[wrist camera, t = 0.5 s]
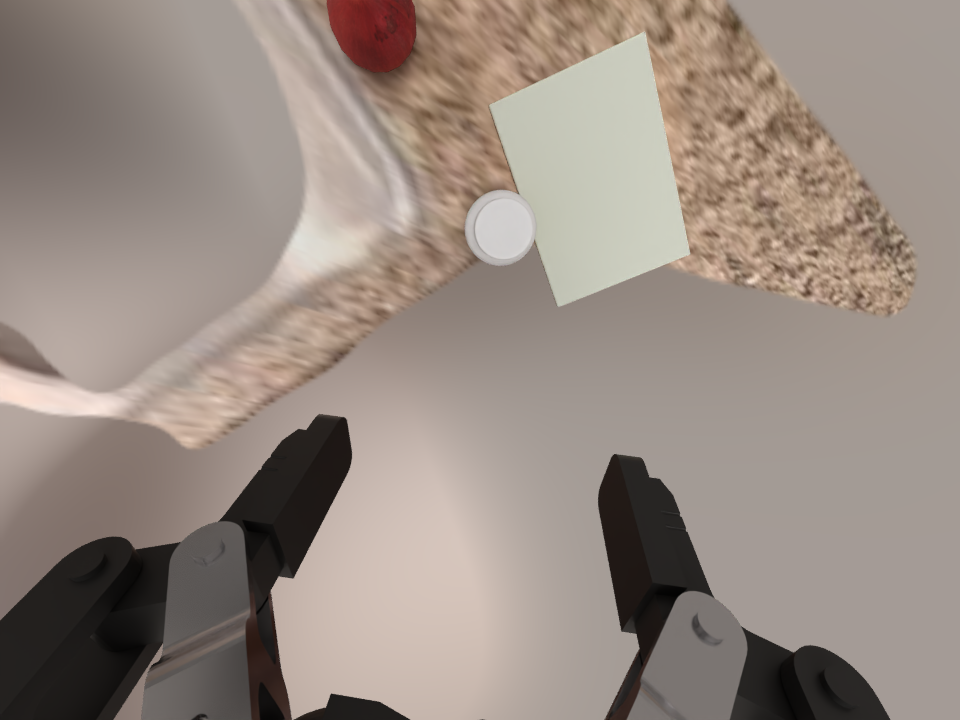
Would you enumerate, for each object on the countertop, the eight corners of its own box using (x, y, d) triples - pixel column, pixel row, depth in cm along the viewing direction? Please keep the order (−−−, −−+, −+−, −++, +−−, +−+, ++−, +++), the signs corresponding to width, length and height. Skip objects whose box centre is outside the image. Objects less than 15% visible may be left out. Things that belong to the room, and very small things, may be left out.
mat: (488, 107, 31) (489, 104, 30) (641, 35, 29) (645, 31, 29) (556, 306, 37) (558, 307, 36) (686, 253, 35) (690, 254, 35)
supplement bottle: (534, 239, 34) (558, 243, 25) (484, 270, 35) (490, 285, 26) (505, 184, 33) (519, 167, 24) (454, 217, 34) (448, 214, 24)
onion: (417, -6, 28) (398, -91, 21) (425, 84, 30) (411, 38, 23) (340, -2, 28) (293, -85, 21) (353, 89, 30) (315, 43, 22)
